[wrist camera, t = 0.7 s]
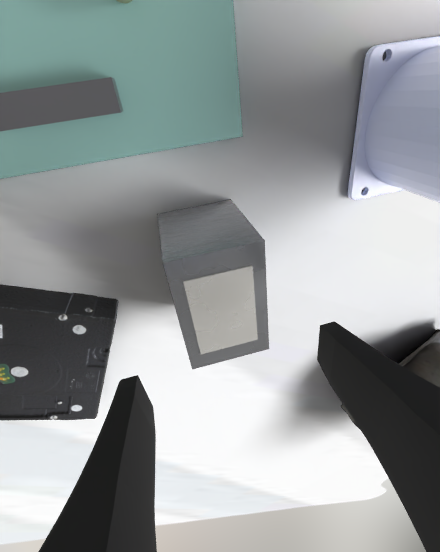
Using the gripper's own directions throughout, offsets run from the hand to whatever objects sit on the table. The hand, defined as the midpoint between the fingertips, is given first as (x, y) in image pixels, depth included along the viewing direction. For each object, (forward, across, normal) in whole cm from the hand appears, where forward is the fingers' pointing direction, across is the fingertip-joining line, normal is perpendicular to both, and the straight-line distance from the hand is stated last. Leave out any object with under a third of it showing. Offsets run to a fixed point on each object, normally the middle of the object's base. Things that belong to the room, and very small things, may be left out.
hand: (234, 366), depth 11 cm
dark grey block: (+10, 0, 0) cm, 10 cm away
